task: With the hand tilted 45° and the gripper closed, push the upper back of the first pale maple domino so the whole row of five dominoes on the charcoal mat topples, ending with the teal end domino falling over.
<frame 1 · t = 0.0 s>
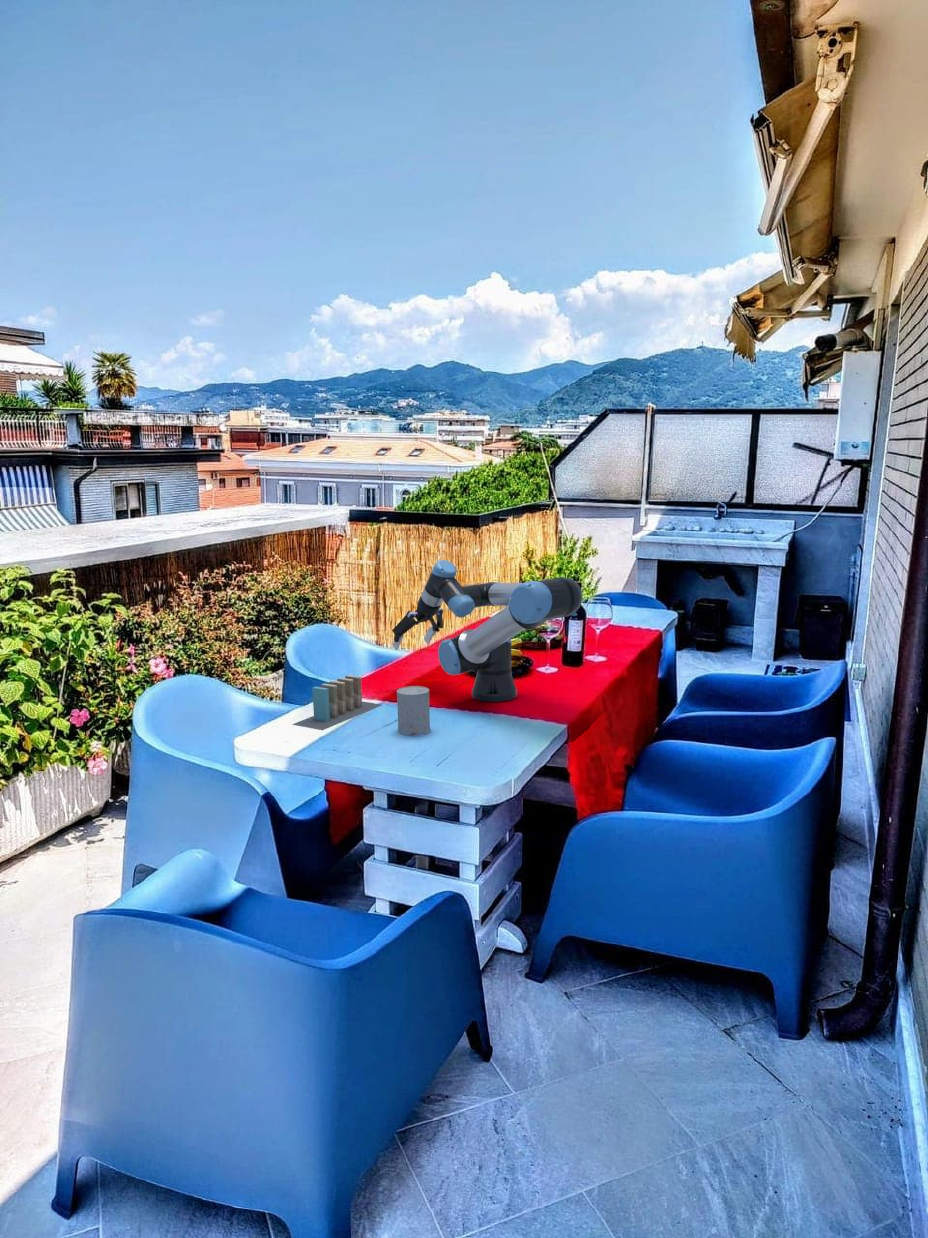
hand: (410, 644, 298), 15 cm above the table, tool tilted 35°, fingers open, 13 cm apart
domino 3: (338, 713, 268), point 1 cm above the table, touching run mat
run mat: (339, 717, 266), on the table
domino 1: (354, 706, 274), point 1 cm above the table, touching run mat
domino 5: (321, 719, 261), point 1 cm above the table, touching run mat
grey flat-topped cylinder: (414, 731, 252), on the table
domino 2: (346, 709, 271), point 1 cm above the table, touching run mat
domino 4: (330, 716, 264), point 1 cm above the table, touching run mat
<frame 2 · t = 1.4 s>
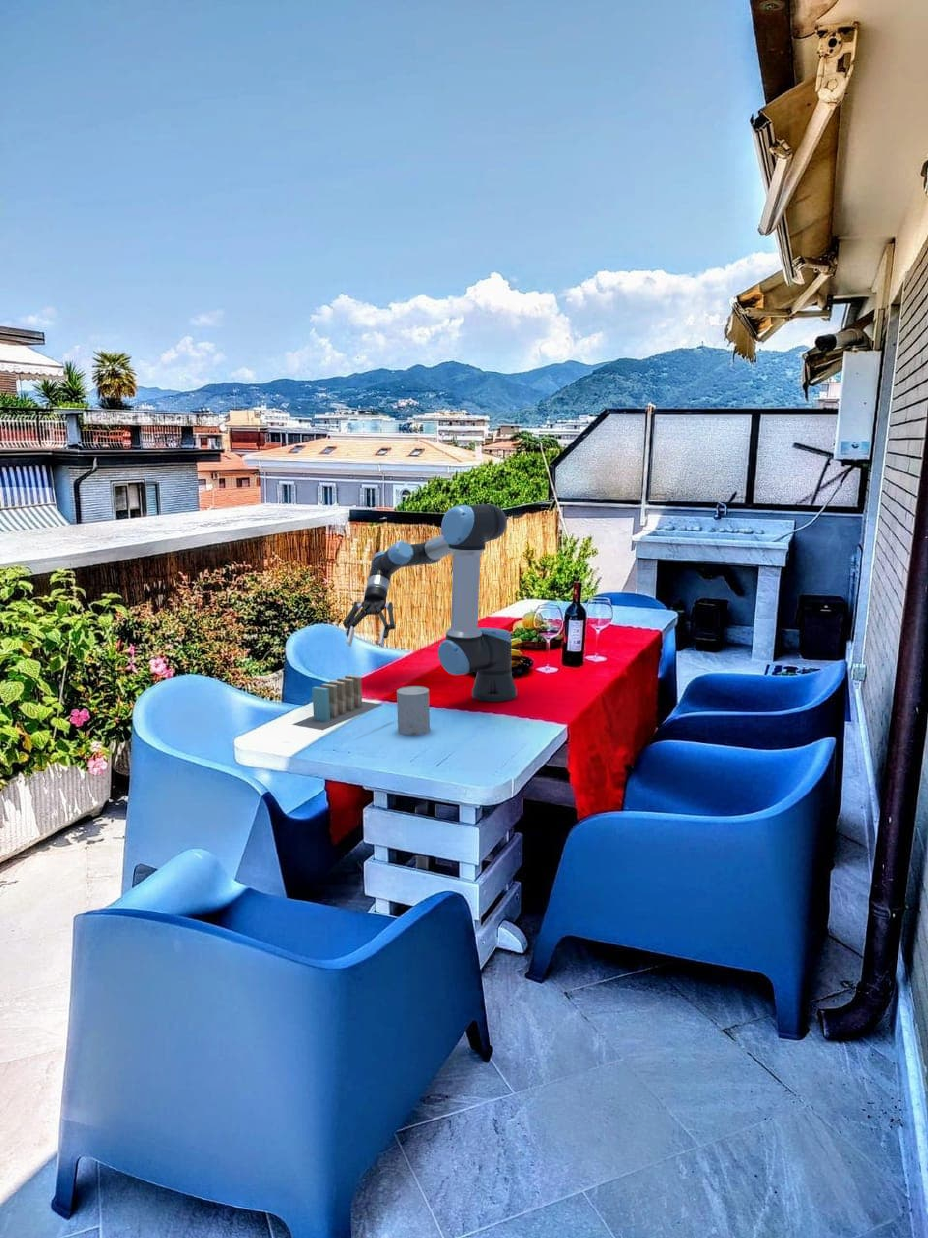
hand: (364, 645, 284), 18 cm above the table, tool tilted 45°, fingers open, 10 cm apart
nothing on the table moved.
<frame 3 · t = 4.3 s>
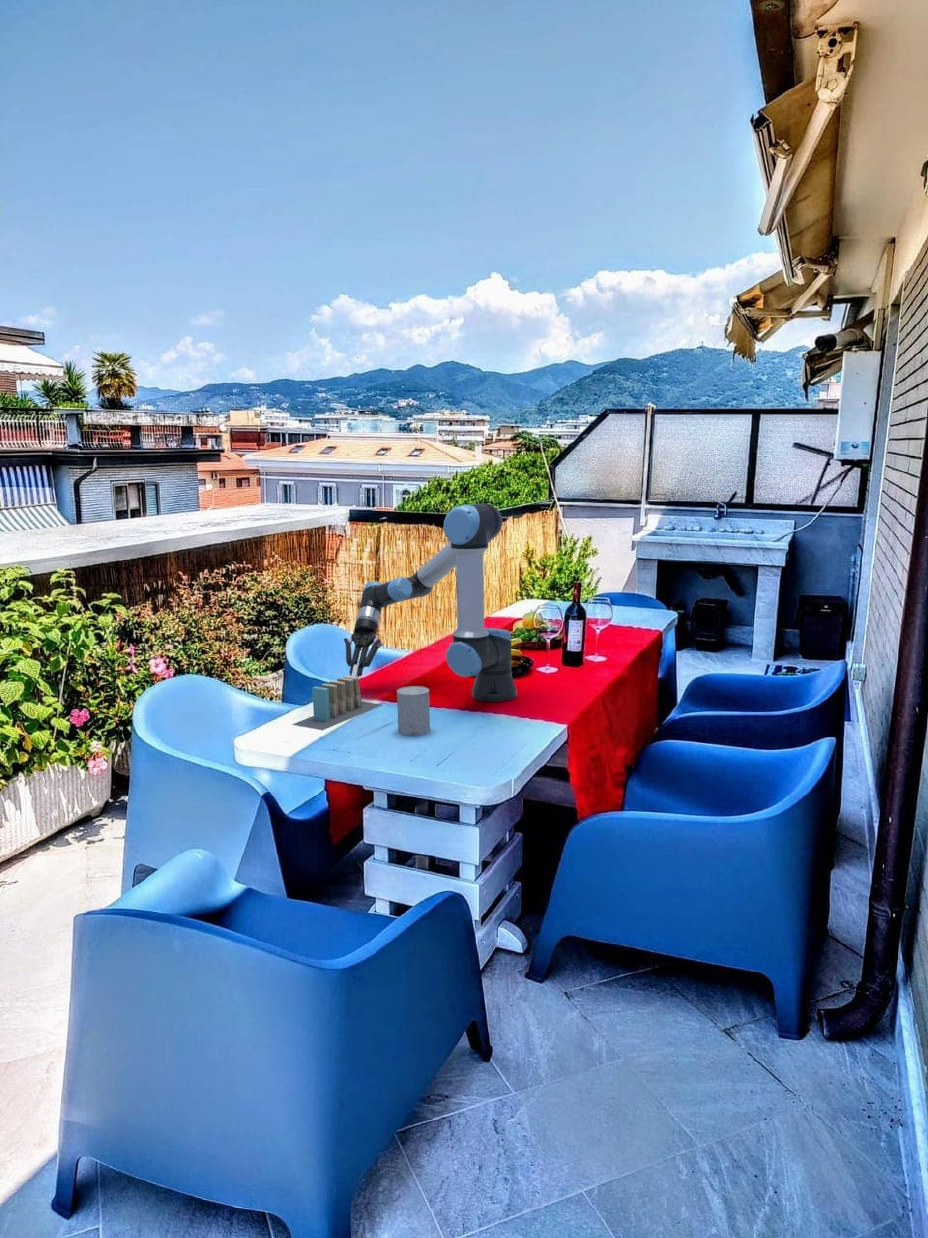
hand: (353, 684, 274), 8 cm above the table, tool tilted 45°, fingers closed
domino 1: (354, 706, 274), point 1 cm above the table, tilted 9°, touching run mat
everything else where it was.
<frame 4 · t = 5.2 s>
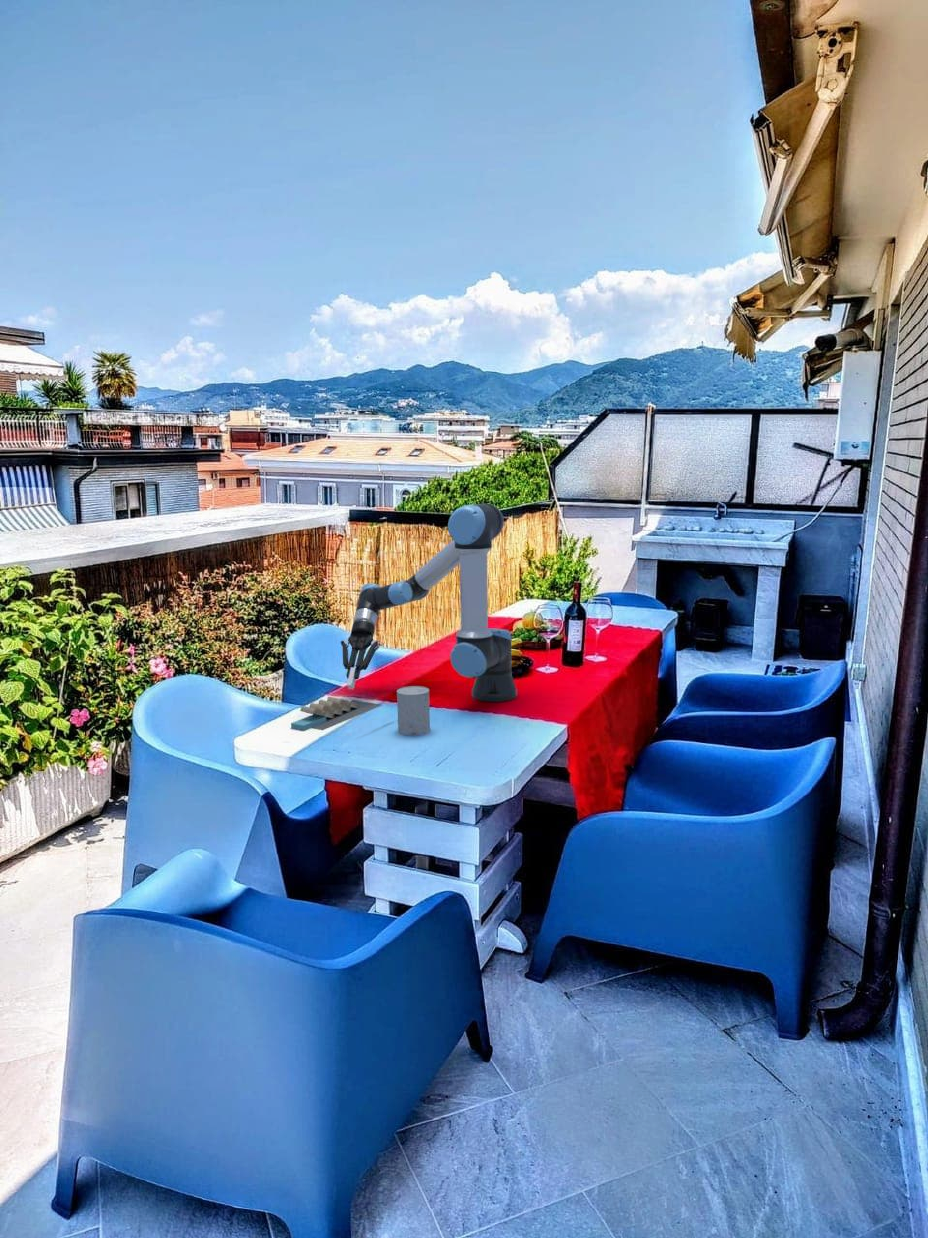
hand: (350, 687, 270), 8 cm above the table, tool tilted 45°, fingers closed
domino 3: (336, 711, 267), point 2 cm above the table, tilted 66°, touching domino 2, domino 4, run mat
domino 1: (352, 705, 273), point 2 cm above the table, tilted 66°, touching domino 2, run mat
domino 5: (319, 718, 260), point 2 cm above the table, tilted 90°, touching domino 4, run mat
domino 2: (344, 708, 270), point 2 cm above the table, tilted 66°, touching domino 1, domino 3, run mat
domino 4: (327, 714, 263), point 2 cm above the table, tilted 66°, touching domino 3, domino 5
everything else where it was.
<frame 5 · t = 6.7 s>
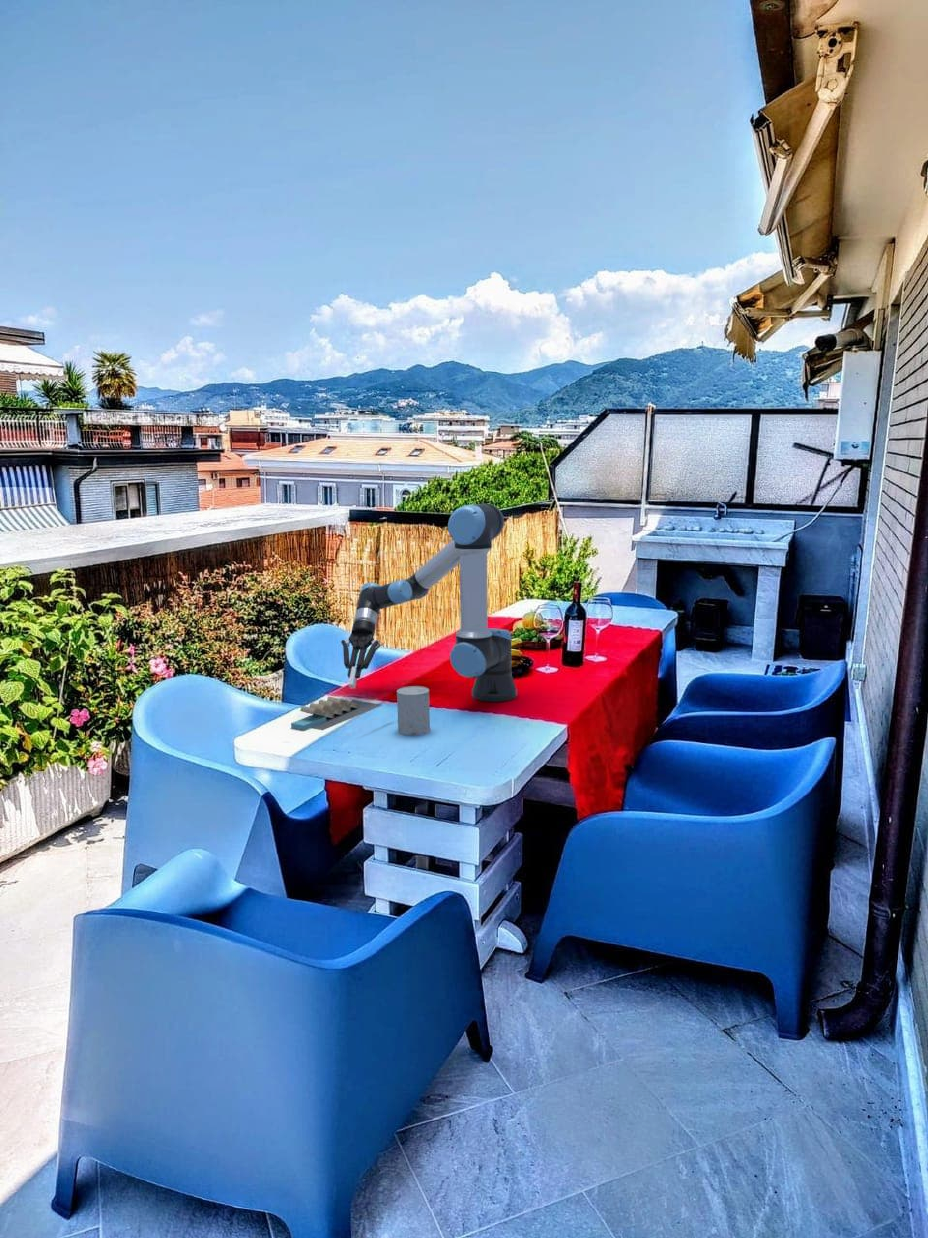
hand: (351, 686, 271), 8 cm above the table, tool tilted 45°, fingers closed
nothing on the table moved.
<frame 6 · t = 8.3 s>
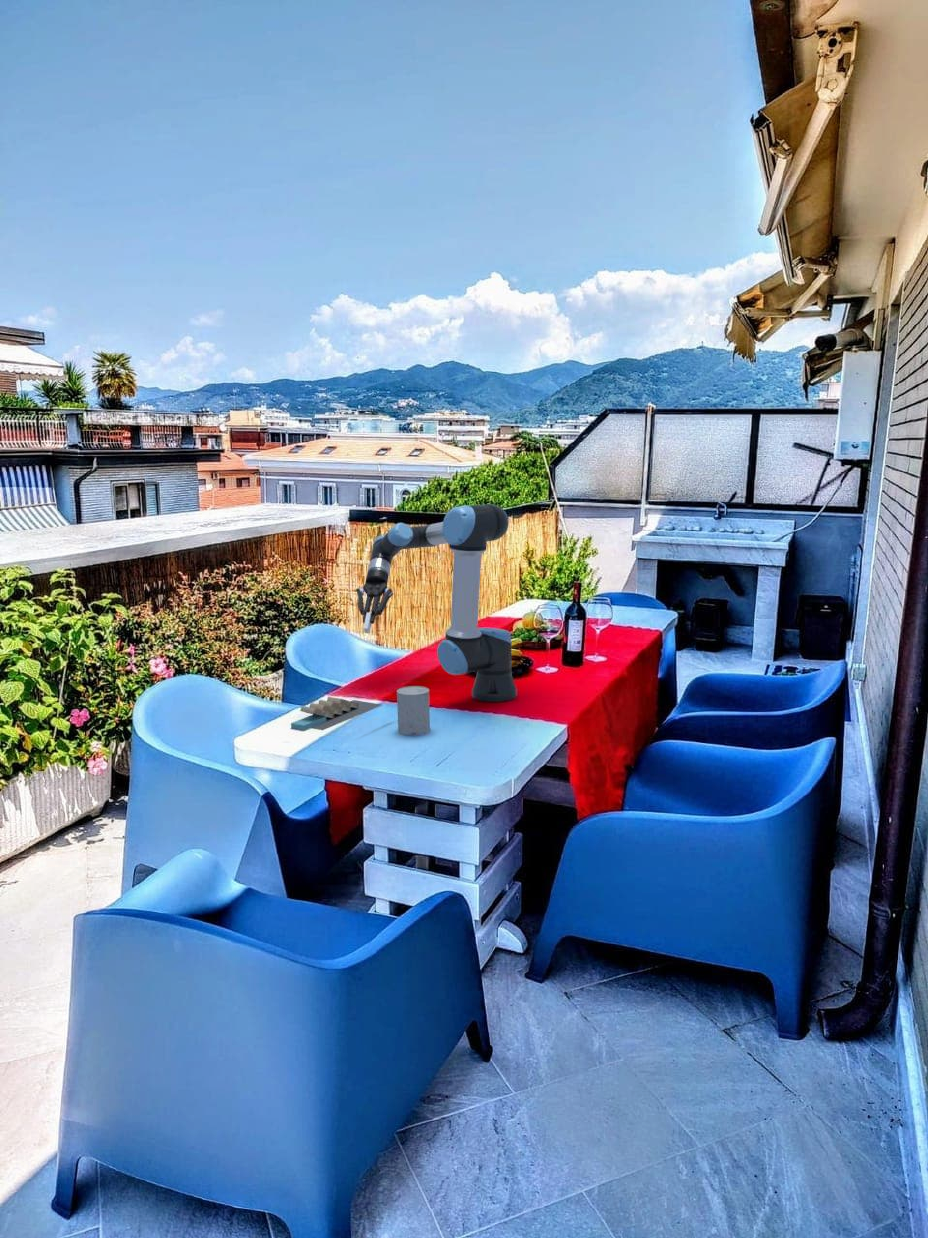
hand: (366, 630, 283), 23 cm above the table, tool tilted 45°, fingers closed
nothing on the table moved.
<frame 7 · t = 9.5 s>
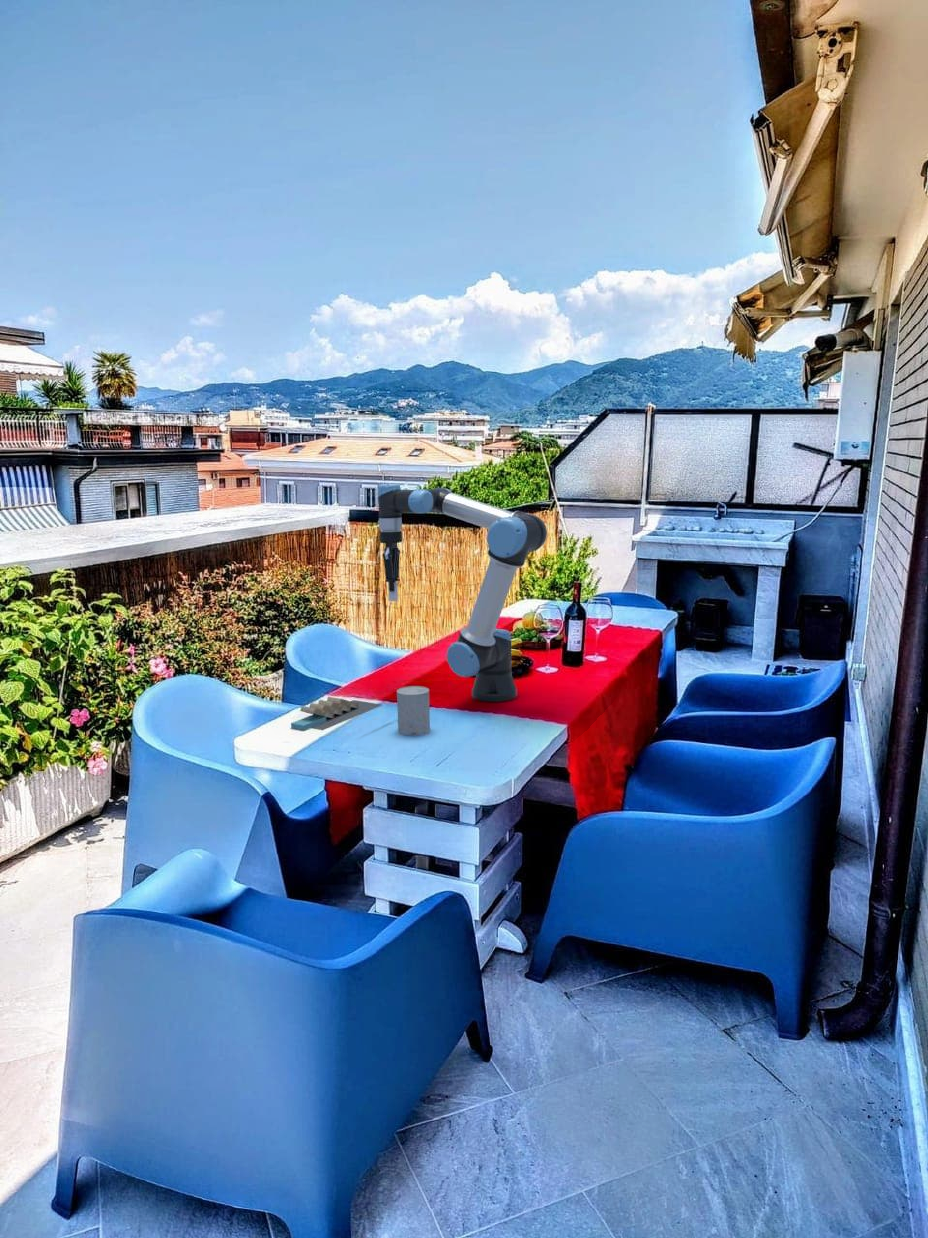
hand: (393, 600, 288), 32 cm above the table, tool pointing down, fingers closed
nothing on the table moved.
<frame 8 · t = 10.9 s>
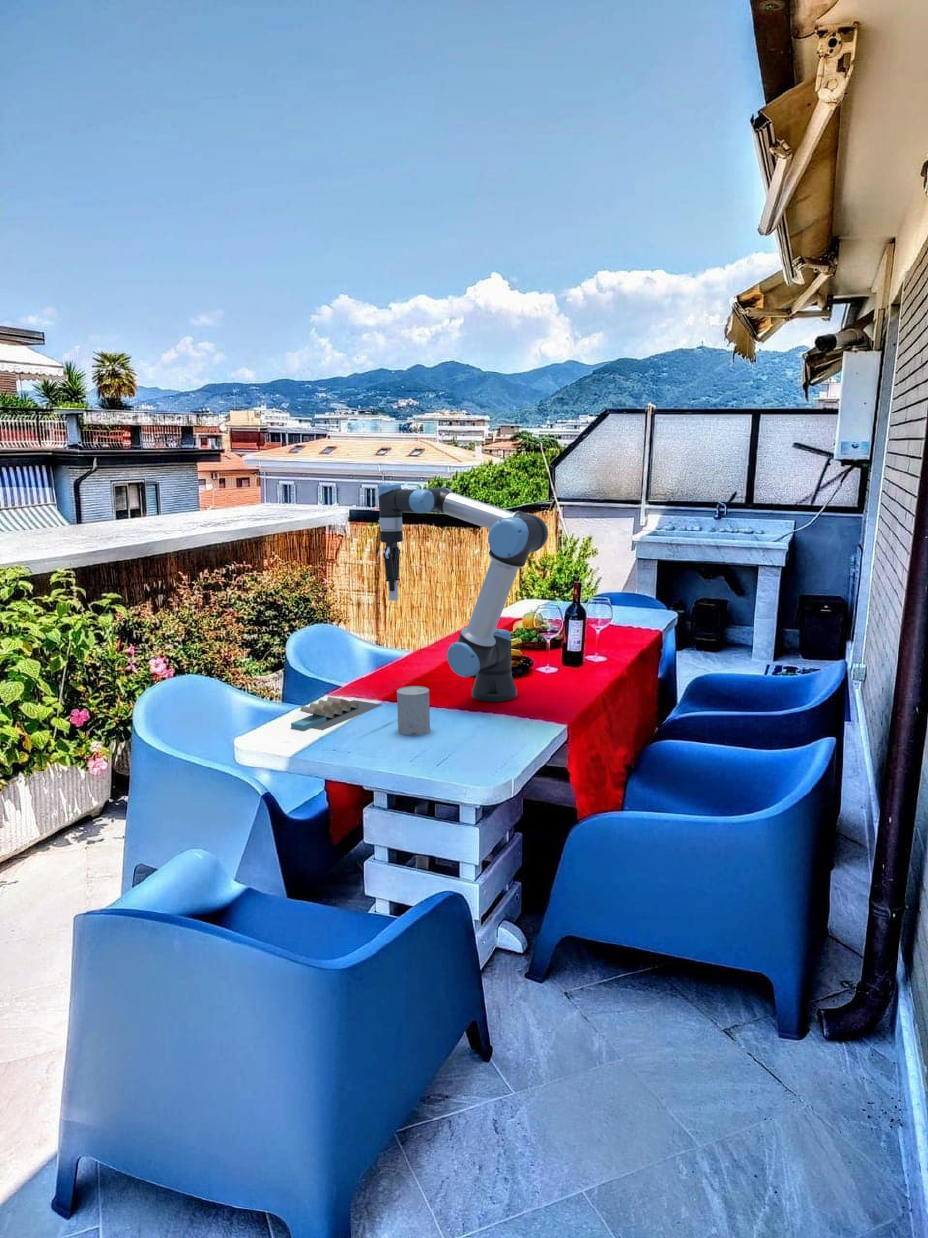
hand: (393, 600, 287), 32 cm above the table, tool pointing down, fingers closed
nothing on the table moved.
at the end: domino 1 tilted 66°; domino 3 tilted 66°; domino 5 tilted 90° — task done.
